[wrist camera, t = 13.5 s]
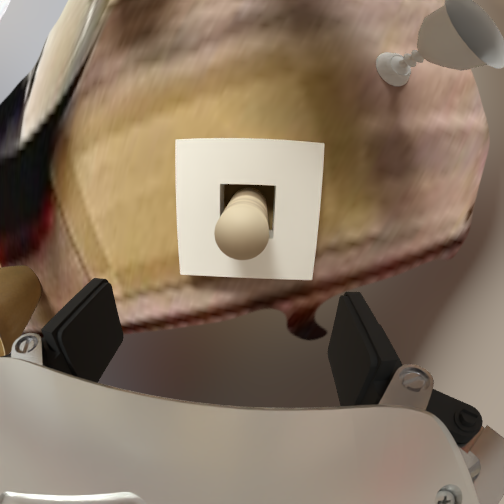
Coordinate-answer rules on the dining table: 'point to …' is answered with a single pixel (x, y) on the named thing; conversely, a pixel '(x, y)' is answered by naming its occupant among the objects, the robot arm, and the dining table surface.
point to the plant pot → (16, 303)
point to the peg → (243, 225)
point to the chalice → (449, 42)
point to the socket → (253, 173)
